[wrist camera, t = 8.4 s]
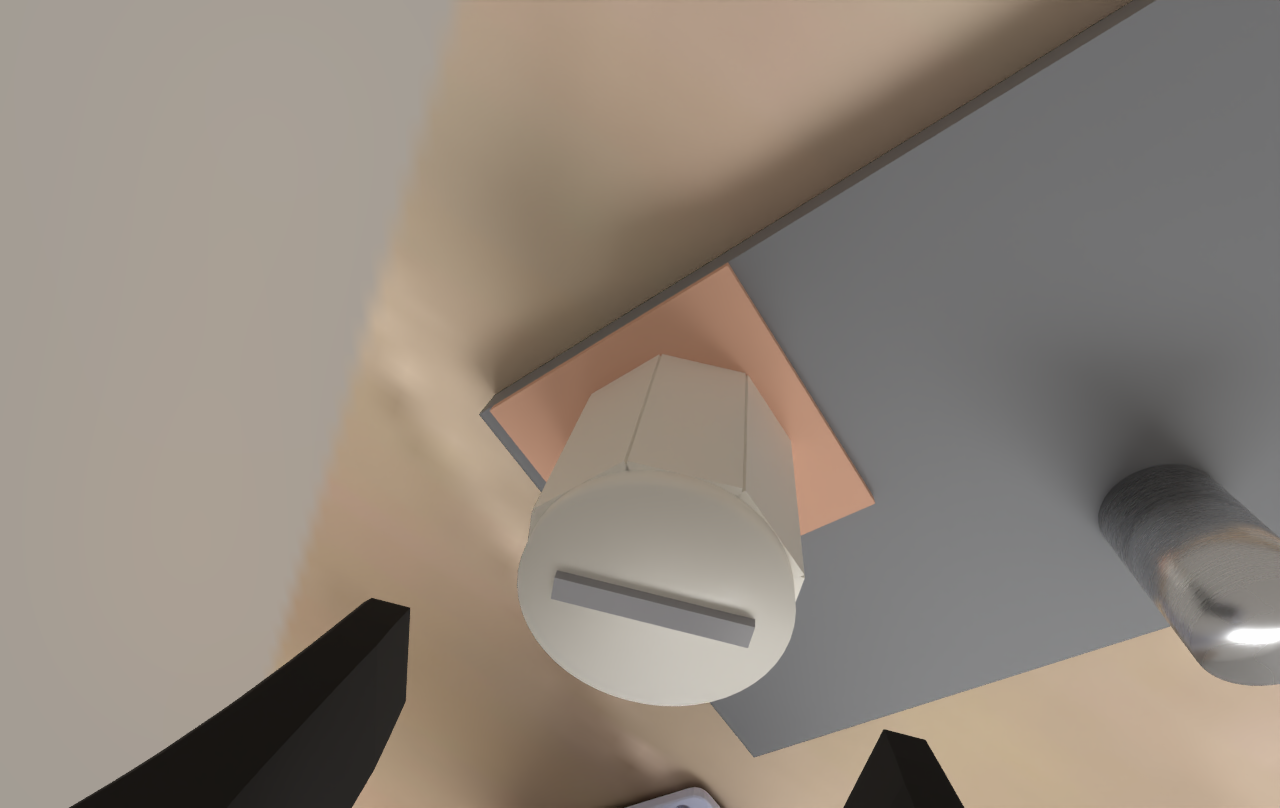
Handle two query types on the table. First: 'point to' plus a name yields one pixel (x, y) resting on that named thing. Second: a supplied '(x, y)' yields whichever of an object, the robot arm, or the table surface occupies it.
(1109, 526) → the metal post
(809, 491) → the terracotta pad
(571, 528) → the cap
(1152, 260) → the base board
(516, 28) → the table surface
